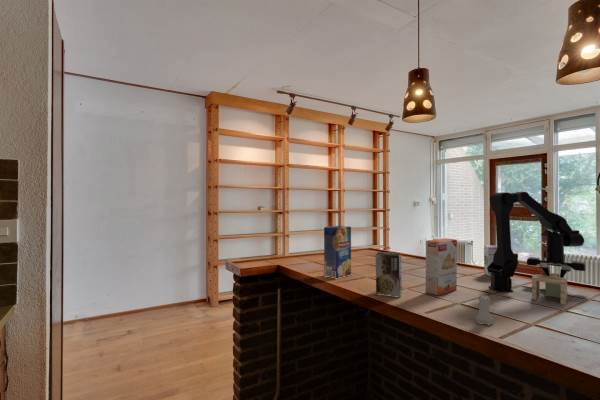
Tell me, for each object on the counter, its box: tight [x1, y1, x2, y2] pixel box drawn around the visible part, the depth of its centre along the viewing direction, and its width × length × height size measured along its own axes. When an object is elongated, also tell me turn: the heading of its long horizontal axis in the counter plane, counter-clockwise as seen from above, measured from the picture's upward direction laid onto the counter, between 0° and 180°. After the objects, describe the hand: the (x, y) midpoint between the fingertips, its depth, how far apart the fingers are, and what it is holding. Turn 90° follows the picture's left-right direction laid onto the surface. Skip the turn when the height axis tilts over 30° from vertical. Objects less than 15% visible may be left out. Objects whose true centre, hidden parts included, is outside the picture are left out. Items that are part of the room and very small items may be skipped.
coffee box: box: [375, 251, 403, 298], centre depth 125 cm, size 9×6×16 cm
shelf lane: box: [531, 274, 568, 305], centre depth 118 cm, size 9×9×8 cm
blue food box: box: [323, 225, 352, 278], centre depth 156 cm, size 12×8×24 cm, turn 137°
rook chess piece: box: [475, 294, 494, 325], centre depth 95 cm, size 4×4×8 cm
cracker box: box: [425, 238, 458, 296], centre depth 128 cm, size 14×6×21 cm, turn 126°
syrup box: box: [483, 244, 501, 278], centre depth 155 cm, size 6×6×14 cm
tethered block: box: [544, 272, 561, 299], centre depth 127 cm, size 16×5×6 cm, turn 140°
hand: (555, 284), depth 133 cm, fingers closed on tethered block, 3 cm apart
